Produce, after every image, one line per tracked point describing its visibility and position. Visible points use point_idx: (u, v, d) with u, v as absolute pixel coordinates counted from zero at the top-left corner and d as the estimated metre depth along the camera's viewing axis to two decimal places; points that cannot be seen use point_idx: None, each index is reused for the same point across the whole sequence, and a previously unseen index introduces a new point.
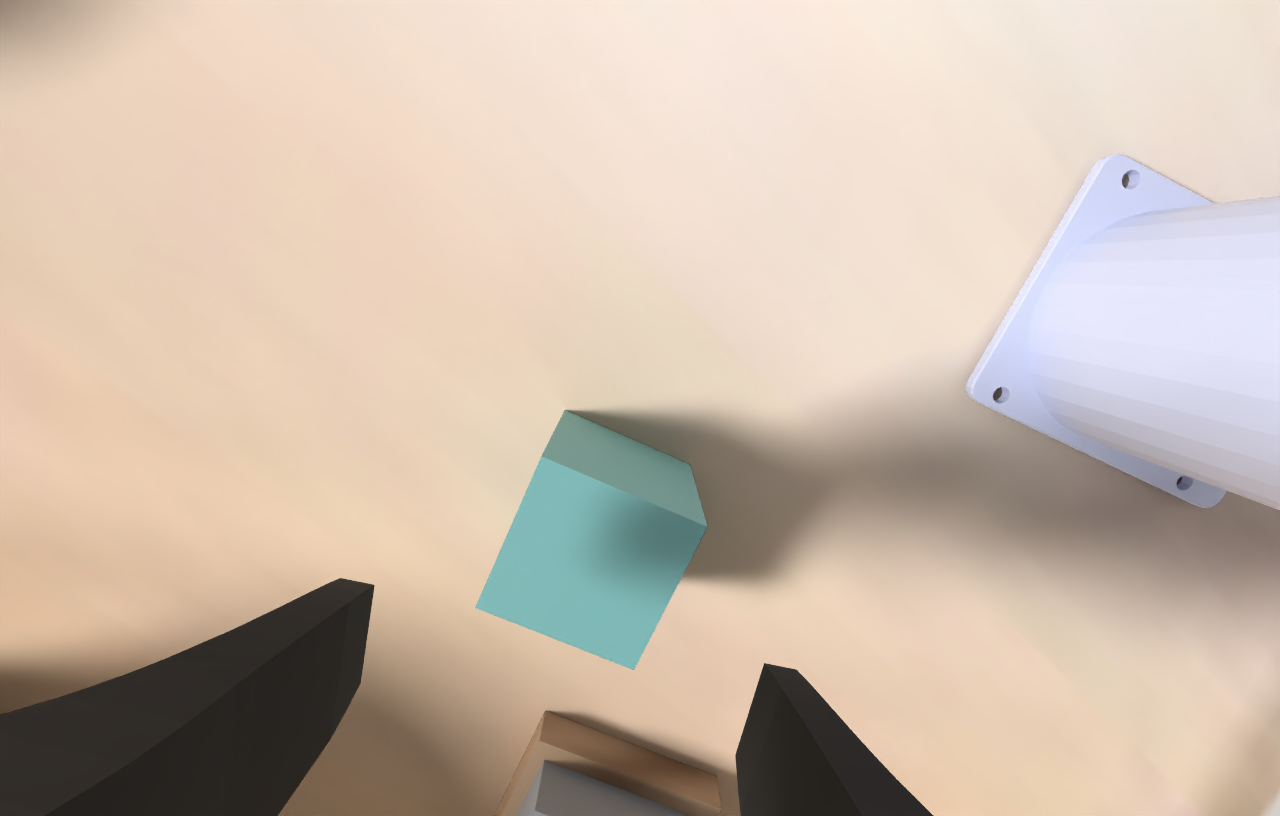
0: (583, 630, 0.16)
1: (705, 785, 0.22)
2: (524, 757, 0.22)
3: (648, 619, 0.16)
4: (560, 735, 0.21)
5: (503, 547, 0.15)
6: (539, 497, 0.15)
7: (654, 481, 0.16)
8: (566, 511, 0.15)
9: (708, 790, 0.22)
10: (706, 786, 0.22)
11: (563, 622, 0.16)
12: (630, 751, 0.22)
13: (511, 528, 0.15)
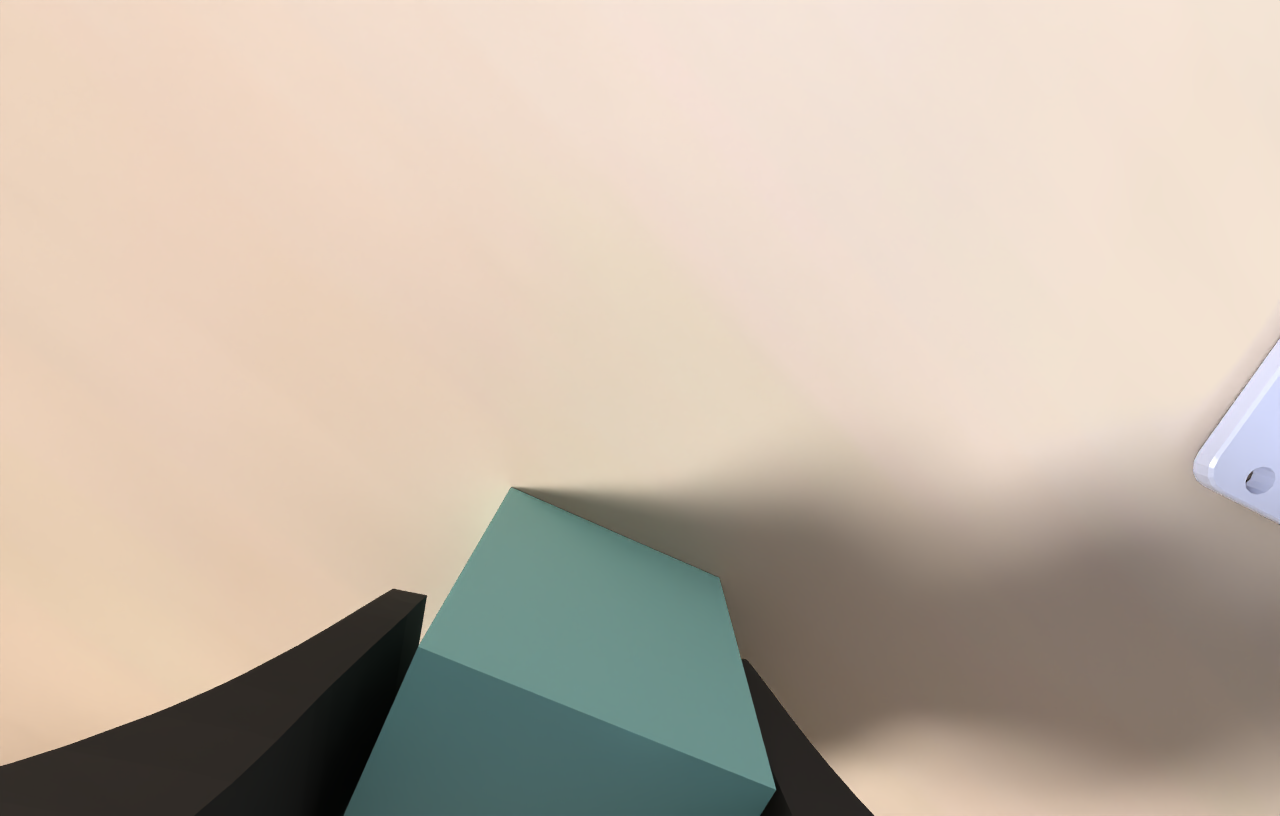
0: None
1: None
2: None
3: None
4: None
5: None
6: (415, 729, 0.07)
7: (663, 657, 0.09)
8: (477, 756, 0.07)
9: None
10: None
11: None
12: None
13: (358, 789, 0.07)
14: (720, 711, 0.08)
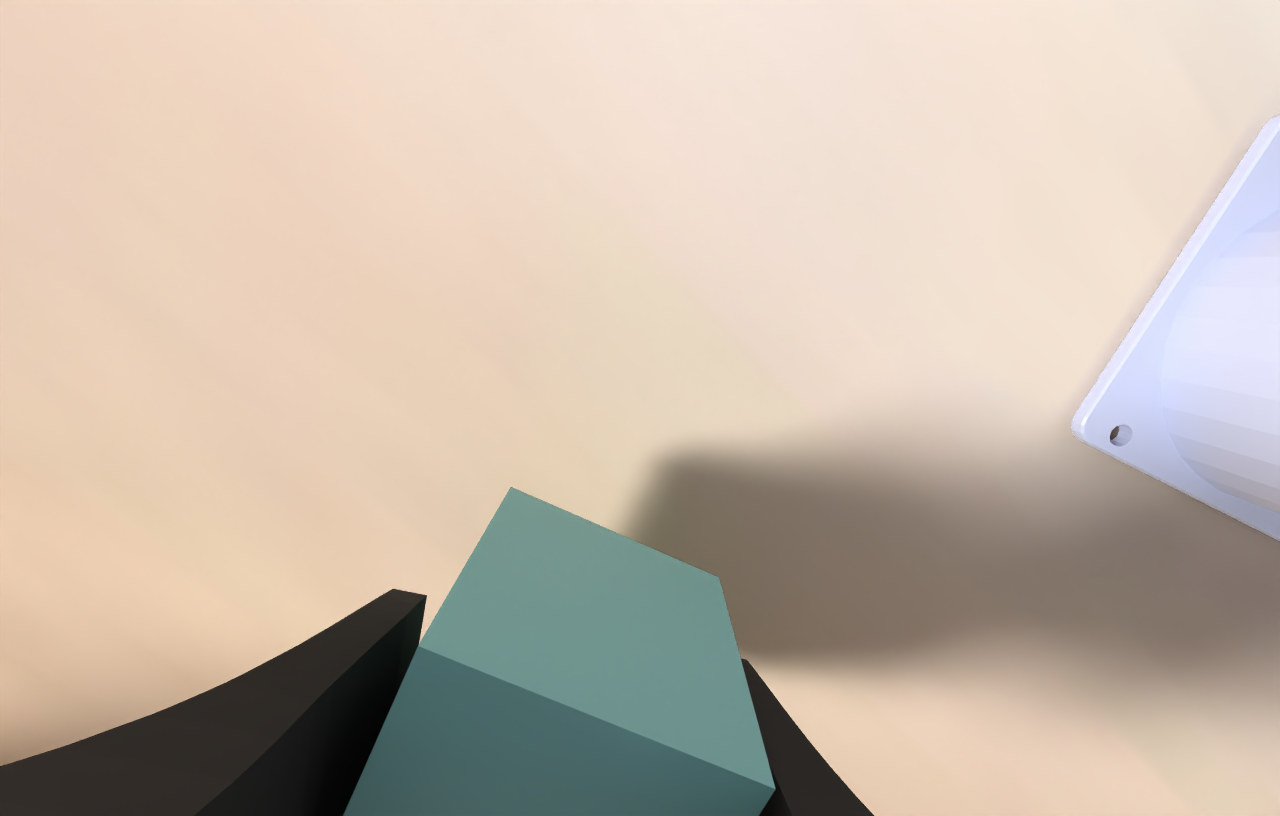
0: None
1: None
2: None
3: None
4: None
5: None
6: (415, 728, 0.07)
7: (662, 656, 0.09)
8: (475, 755, 0.07)
9: None
10: None
11: None
12: None
13: (358, 787, 0.07)
14: (719, 710, 0.08)
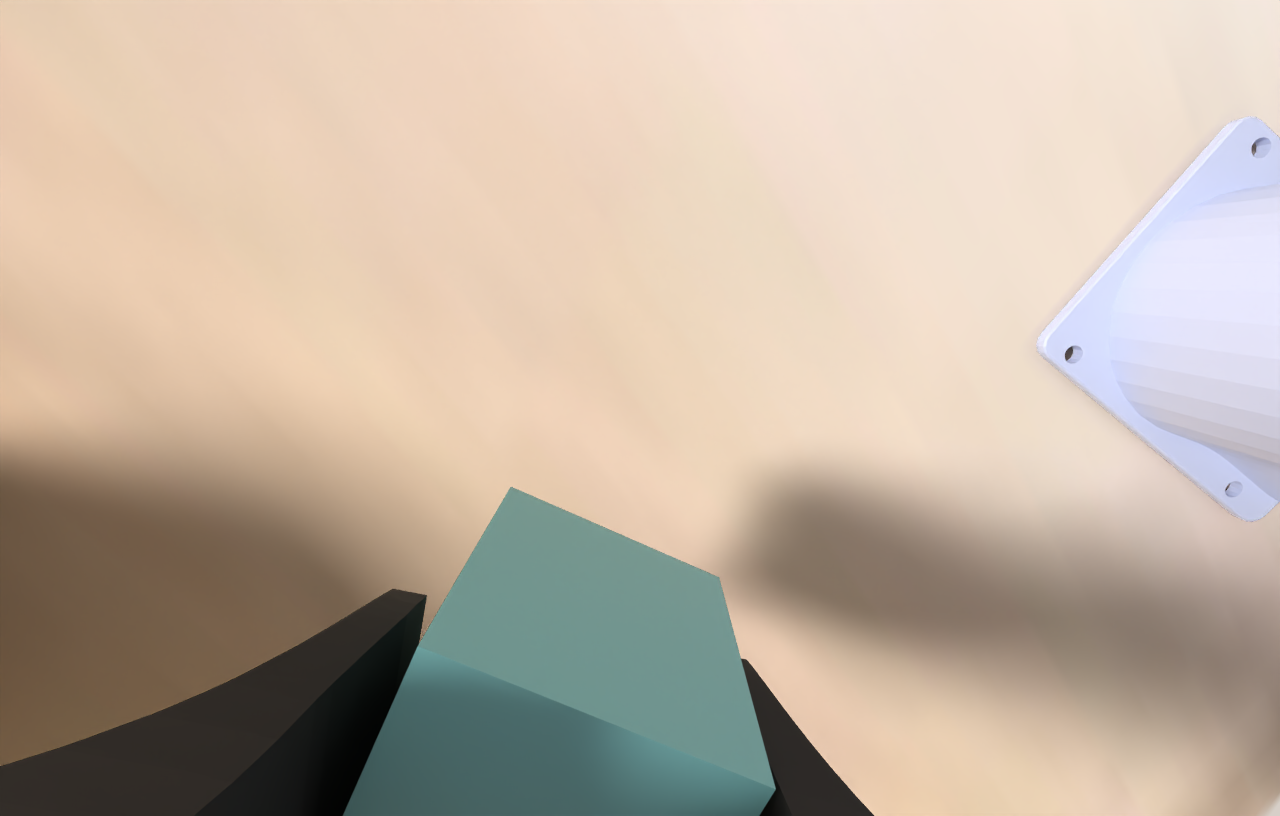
0: None
1: None
2: None
3: None
4: None
5: None
6: (414, 729, 0.07)
7: (662, 657, 0.09)
8: (476, 756, 0.07)
9: None
10: None
11: None
12: None
13: (358, 788, 0.07)
14: (720, 711, 0.08)
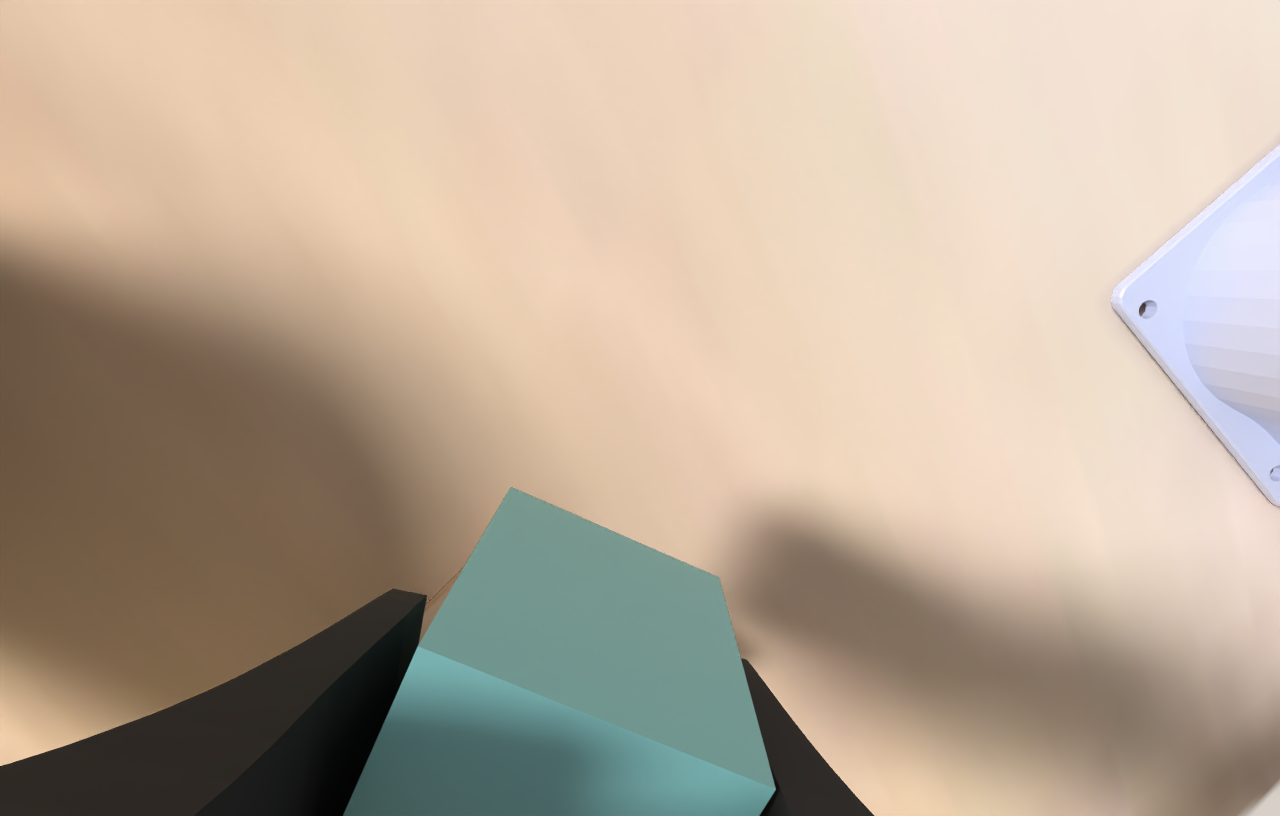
0: None
1: None
2: None
3: None
4: None
5: None
6: (415, 727, 0.07)
7: (663, 656, 0.09)
8: (476, 756, 0.07)
9: None
10: None
11: None
12: None
13: (358, 788, 0.07)
14: (720, 711, 0.08)
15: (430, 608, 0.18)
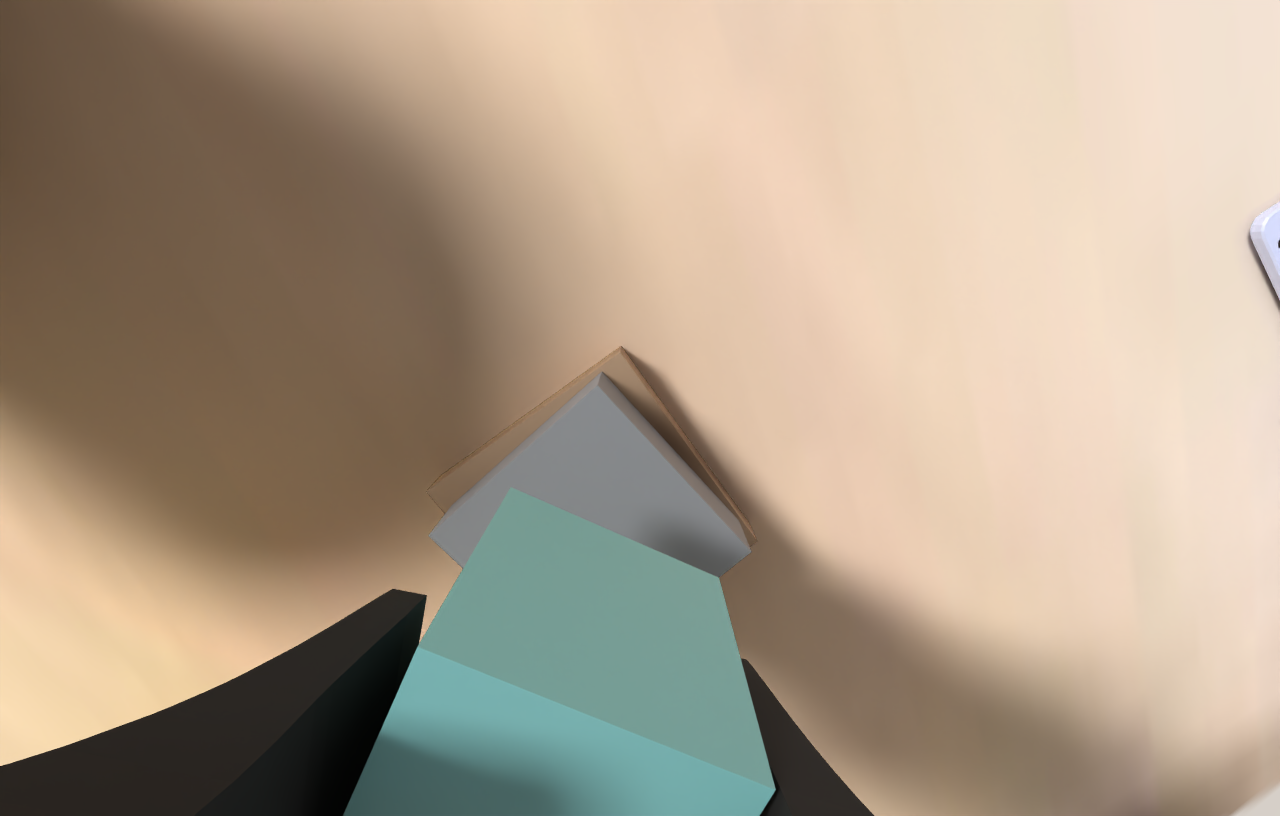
0: None
1: (742, 517, 0.19)
2: (570, 383, 0.18)
3: None
4: (634, 369, 0.17)
5: None
6: (415, 729, 0.07)
7: (662, 657, 0.09)
8: (476, 756, 0.07)
9: (745, 522, 0.18)
10: (743, 518, 0.18)
11: None
12: (686, 438, 0.18)
13: (358, 789, 0.07)
14: (720, 711, 0.08)
15: (498, 439, 0.17)
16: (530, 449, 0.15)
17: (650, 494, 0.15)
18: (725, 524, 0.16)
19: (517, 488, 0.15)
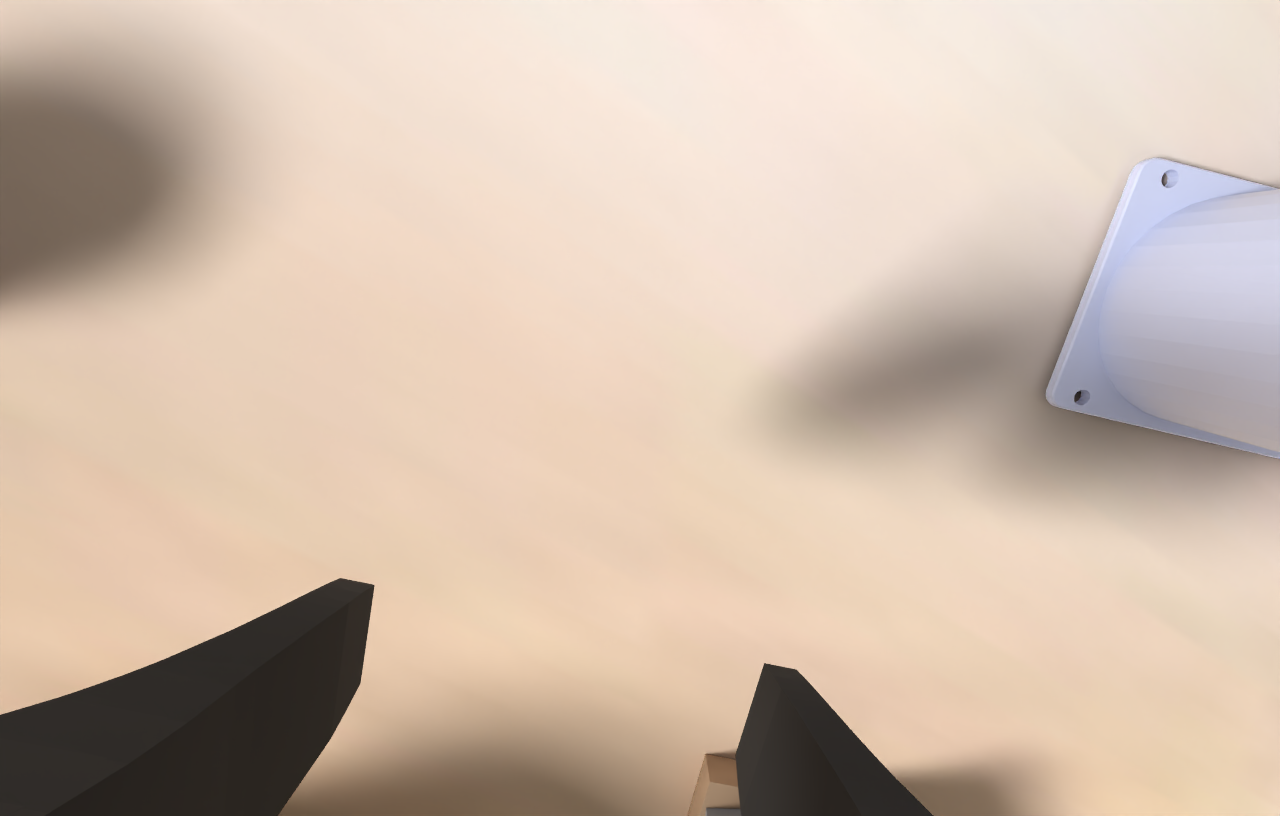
0: None
1: None
2: (694, 797, 0.24)
3: None
4: (725, 772, 0.23)
5: None
6: None
7: None
8: None
9: None
10: None
11: None
12: None
13: None
14: None
15: None
16: None
17: None
18: None
19: None
